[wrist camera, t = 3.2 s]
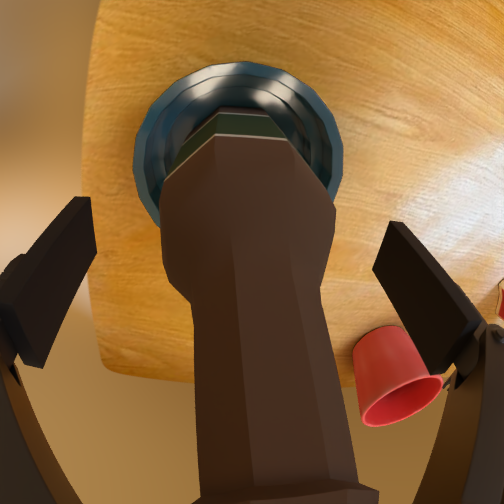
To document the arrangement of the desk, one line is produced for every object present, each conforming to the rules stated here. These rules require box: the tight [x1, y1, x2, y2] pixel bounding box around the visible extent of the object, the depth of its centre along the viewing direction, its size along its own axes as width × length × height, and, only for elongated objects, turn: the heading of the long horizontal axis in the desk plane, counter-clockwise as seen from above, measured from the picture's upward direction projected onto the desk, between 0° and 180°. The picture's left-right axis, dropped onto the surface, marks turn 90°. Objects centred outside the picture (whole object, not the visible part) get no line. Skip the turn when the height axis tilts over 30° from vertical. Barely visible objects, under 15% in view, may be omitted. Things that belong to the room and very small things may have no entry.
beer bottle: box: [159, 106, 379, 504], centre depth 14 cm, size 8×8×24 cm
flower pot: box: [352, 326, 443, 427], centre depth 35 cm, size 11×11×10 cm
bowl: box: [133, 61, 343, 228], centre depth 22 cm, size 14×14×5 cm
